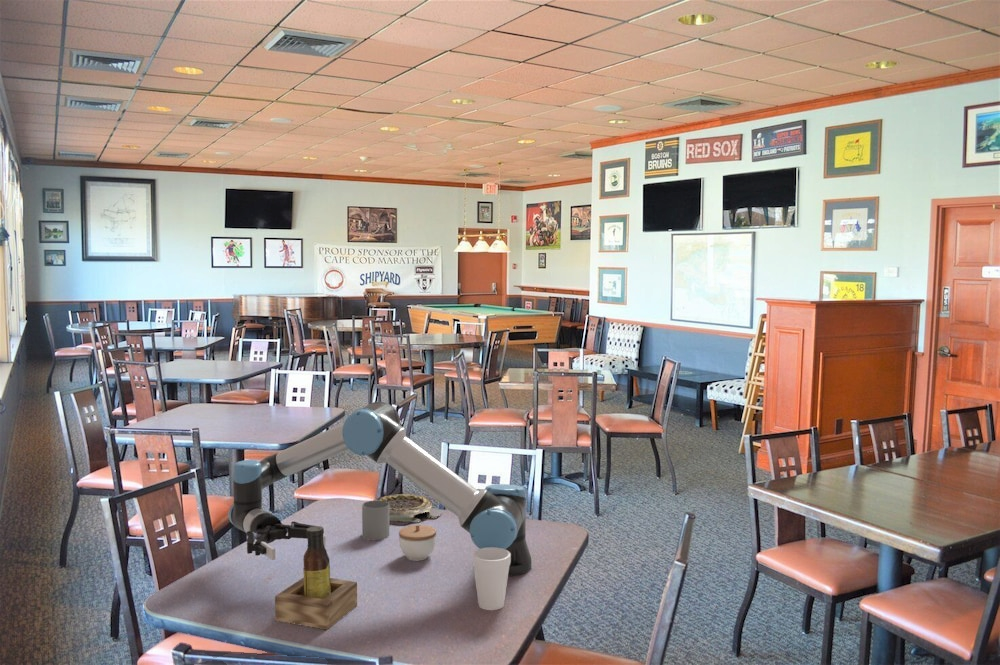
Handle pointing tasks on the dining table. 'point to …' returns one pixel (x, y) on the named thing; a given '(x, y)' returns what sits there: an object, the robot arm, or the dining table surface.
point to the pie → (407, 507)
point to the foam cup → (491, 576)
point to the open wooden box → (316, 604)
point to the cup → (375, 520)
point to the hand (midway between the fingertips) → (299, 548)
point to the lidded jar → (417, 541)
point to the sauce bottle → (316, 565)
